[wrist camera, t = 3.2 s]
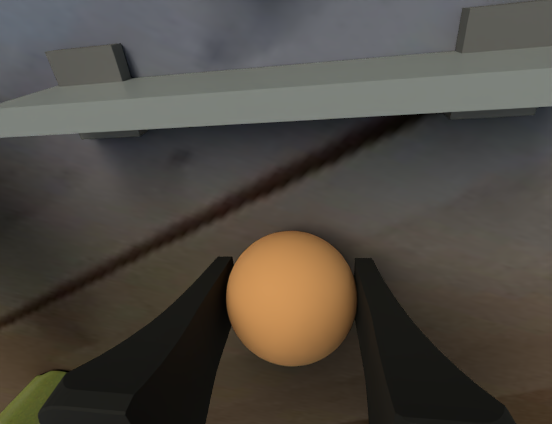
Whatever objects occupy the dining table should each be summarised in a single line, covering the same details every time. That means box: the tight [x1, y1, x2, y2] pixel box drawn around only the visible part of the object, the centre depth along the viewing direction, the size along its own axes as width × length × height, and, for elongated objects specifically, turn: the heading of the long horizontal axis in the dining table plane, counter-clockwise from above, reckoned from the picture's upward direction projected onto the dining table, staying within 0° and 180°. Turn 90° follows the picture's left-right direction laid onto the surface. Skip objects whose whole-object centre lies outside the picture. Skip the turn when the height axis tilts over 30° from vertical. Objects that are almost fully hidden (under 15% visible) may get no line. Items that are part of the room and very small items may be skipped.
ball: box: [226, 231, 357, 366], centre depth 13 cm, size 5×5×5 cm
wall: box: [0, 0, 552, 139], centre depth 9 cm, size 16×3×4 cm, turn 95°
